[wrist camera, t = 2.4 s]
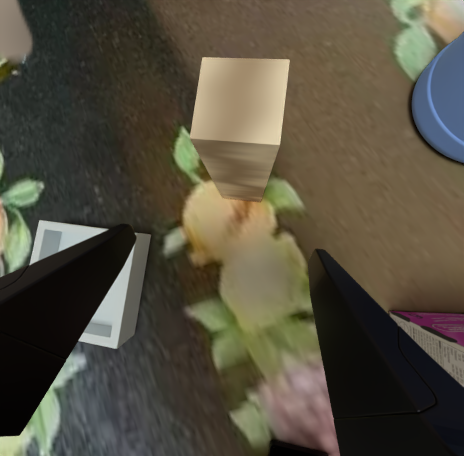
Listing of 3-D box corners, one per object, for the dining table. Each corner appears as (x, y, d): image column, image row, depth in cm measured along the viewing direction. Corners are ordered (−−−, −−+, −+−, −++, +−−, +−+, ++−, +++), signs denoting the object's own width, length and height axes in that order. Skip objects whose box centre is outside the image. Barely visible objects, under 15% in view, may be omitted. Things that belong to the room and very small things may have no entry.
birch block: (264, 165, 22) (289, 59, 9) (260, 202, 22) (279, 145, 9) (227, 162, 23) (202, 57, 10) (222, 198, 22) (190, 138, 10)
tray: (151, 234, 23) (136, 233, 20) (134, 334, 22) (116, 348, 19) (65, 223, 24) (39, 220, 21) (45, 316, 23) (16, 327, 20)
